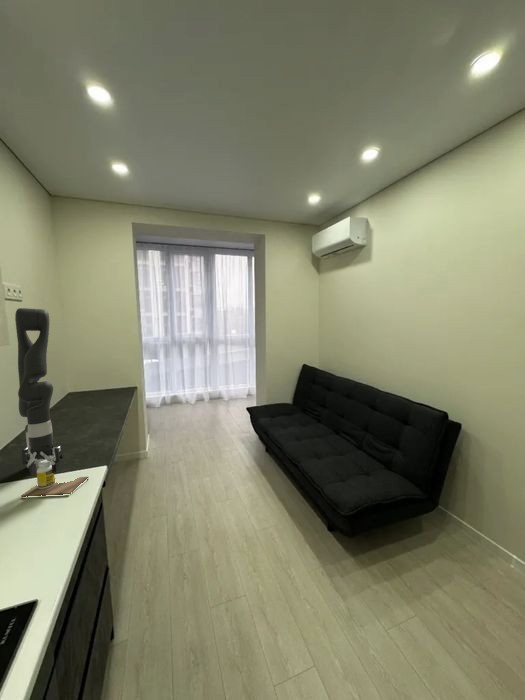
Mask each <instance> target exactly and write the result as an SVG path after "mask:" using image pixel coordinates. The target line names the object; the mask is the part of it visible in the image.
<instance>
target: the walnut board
mask: <svg viewBox="0 0 525 700" xmlns="http://www.w3.org/2000/svg"><path fill="white" fill-rule="evenodd" d="M78 477H79V478H77V479H75V480H74V481H70V482H67V483H65V482H64V483H59V484H58V483H57V482H56V483H55V484H54V485H53V486H51V487H49V488H45V489H39V488H38V486H37V484H36V486H35V485H34V486H33V487H31V488H30V489H28V490H26V491H25V492H24V493H23V494H21V495H20V498H21V497H26V496H27V497H28V496H41V495H42V496H46V495H63V494H71V492H73V491H74V490H75V489H76V488H77V487H78V486H79V485H80V484H81V483H83V482H84V481H85V480H86V479H87V478H89V476H78ZM71 495H72V494H71Z"/></svg>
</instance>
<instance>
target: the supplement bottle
mask: <svg viewBox="0 0 525 700" xmlns="http://www.w3.org/2000/svg"><path fill="white" fill-rule="evenodd" d="M38 466H39V468H38V469H36V471H37V472H36V480H37V481H36V482H37V484H38V488H39V489H45V488H49V487H51V486H53V485H54V484H55V479H56V478H55V474H53V473H52V464H51V463H50V461H47V460H43V461H41V462H39V463H38Z"/></svg>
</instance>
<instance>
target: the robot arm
mask: <svg viewBox="0 0 525 700" xmlns="http://www.w3.org/2000/svg"><path fill="white" fill-rule="evenodd" d="M14 315H15V317H14V319H15V320H14V321H15V330H16V337H17V338H16V339H17V368H18V369H17V370H18V383H19V387H18V388H19V389H18V392H17V394H18V395H17V396H18V411H19V415H20V416H21V417H22V418H26V419H27V424H26V425H25V428H24V429H25V439H26V440H25V441H26V447H25V448H23V449H22V450H21V458H22V459H21V461H22V465H24V466H25V465H26V467H27V469H28V473H29V474H30V475H31V476H34V475H35V474H37V469H38V468H39V466H38V463H39V462H41V461H43V460H47V461H50V463H51V465H52V473H53V474H54V475H56V474H57V473H58V472H59V470H60V468H59V467H60V465H59V463H60V462H62V461H63V460H64V453H63V447H62V445H59V446H54V445H53V443H54V435H53V424H52V421H51V410H50V406H51V400H52V397H53V393H54V386H53V384H52V383H51V382H49V381H41V379H42V378H44V377H46V375H47V374H48V373H47V372H48V368H47V367H48V366H47V352H48V343H49V335H50V334H49V333H50V314H49V312H48V310H46V309H42V308H41V309H40V308H26V307H25V308H22V307H21V308H17V309H16V311H15V314H14ZM28 331H29V332H30V331H31V332H39V335H38V337H37V339H36V340H35V342H34V343H33V342H32V340H31V339H30V337H29V335H28Z"/></svg>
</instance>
